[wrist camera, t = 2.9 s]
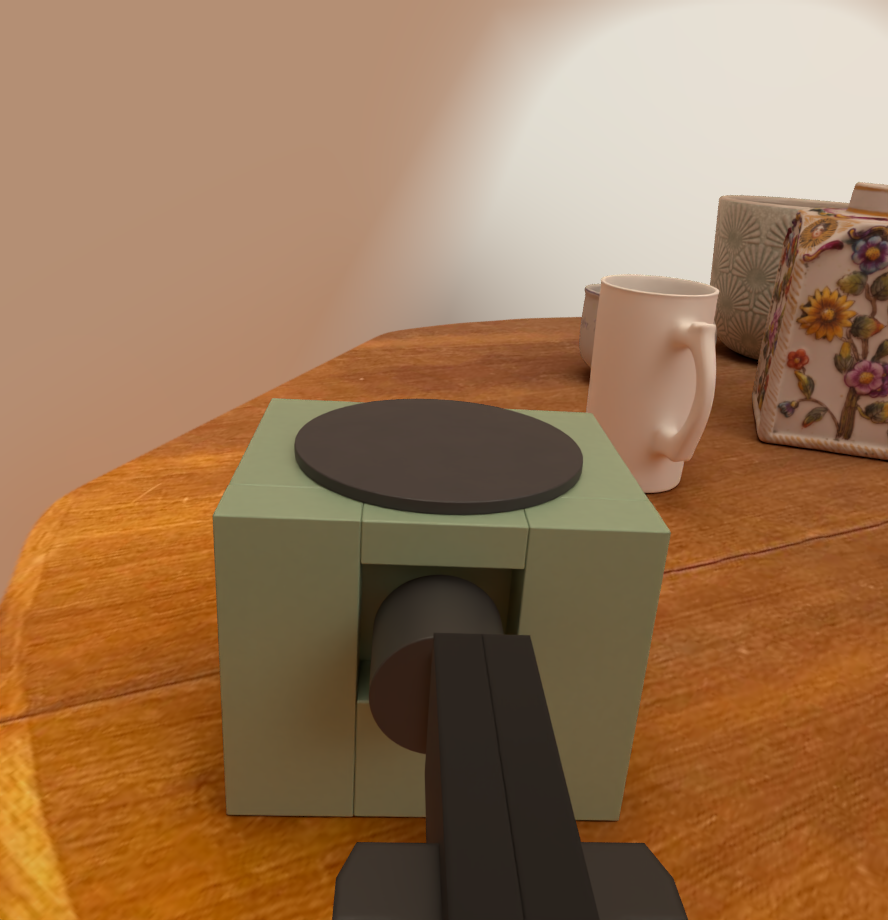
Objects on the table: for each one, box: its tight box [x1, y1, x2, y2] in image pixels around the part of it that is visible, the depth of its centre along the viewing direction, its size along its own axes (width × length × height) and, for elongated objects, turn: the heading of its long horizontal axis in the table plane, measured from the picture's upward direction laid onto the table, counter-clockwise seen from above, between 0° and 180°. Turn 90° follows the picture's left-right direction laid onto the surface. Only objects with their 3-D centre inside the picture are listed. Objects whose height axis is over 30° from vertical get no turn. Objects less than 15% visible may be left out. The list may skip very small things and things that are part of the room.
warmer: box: [213, 398, 671, 821], centre depth 28 cm, size 12×10×10 cm
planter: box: [710, 195, 849, 360], centre depth 83 cm, size 17×17×15 cm
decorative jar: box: [752, 182, 888, 460], centre depth 60 cm, size 12×12×18 cm
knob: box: [369, 575, 504, 754], centre depth 22 cm, size 4×3×4 cm
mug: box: [586, 274, 719, 493], centre depth 49 cm, size 10×7×12 cm, turn 16°
